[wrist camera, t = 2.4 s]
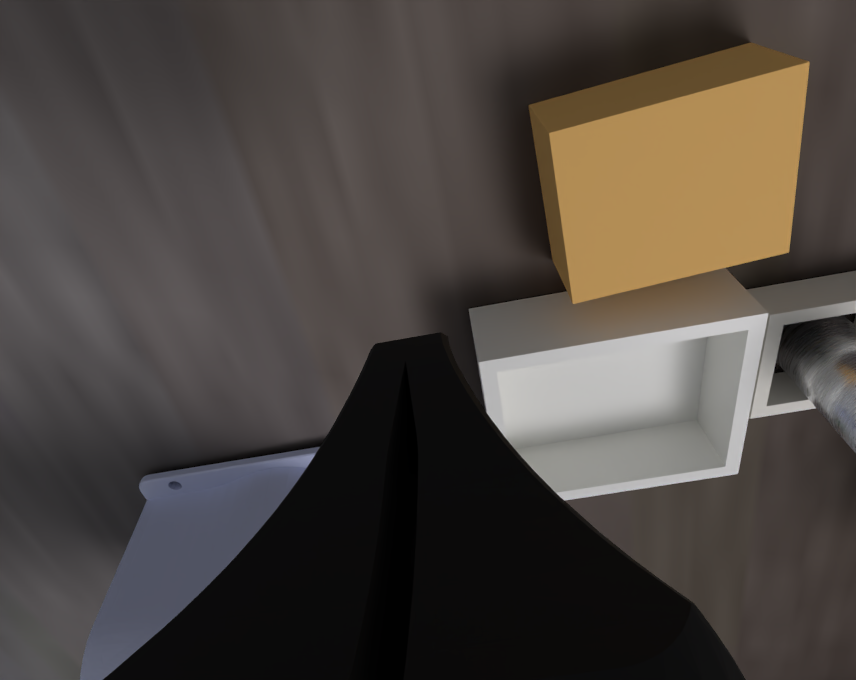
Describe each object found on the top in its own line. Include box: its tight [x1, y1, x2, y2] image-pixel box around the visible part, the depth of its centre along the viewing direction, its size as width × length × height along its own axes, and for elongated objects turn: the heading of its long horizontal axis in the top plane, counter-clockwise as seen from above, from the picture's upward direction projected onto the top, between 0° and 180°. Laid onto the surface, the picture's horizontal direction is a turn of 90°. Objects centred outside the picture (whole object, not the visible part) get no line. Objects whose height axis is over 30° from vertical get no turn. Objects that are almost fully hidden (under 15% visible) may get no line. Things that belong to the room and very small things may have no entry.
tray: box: [469, 268, 768, 500], centre depth 21 cm, size 8×7×3 cm
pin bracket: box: [747, 271, 856, 419], centre depth 21 cm, size 5×5×2 cm
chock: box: [528, 42, 810, 304], centre depth 16 cm, size 6×5×3 cm
